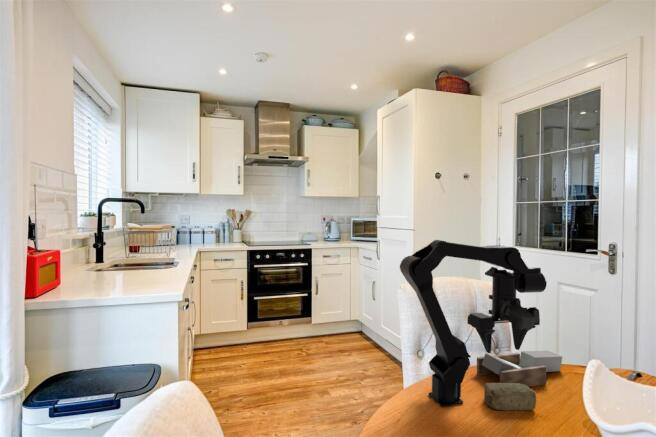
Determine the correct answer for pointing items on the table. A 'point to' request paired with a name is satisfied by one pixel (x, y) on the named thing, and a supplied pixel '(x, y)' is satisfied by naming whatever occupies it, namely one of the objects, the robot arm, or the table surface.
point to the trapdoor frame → (516, 371)
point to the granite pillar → (541, 360)
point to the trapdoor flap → (497, 364)
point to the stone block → (509, 396)
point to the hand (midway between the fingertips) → (502, 351)
